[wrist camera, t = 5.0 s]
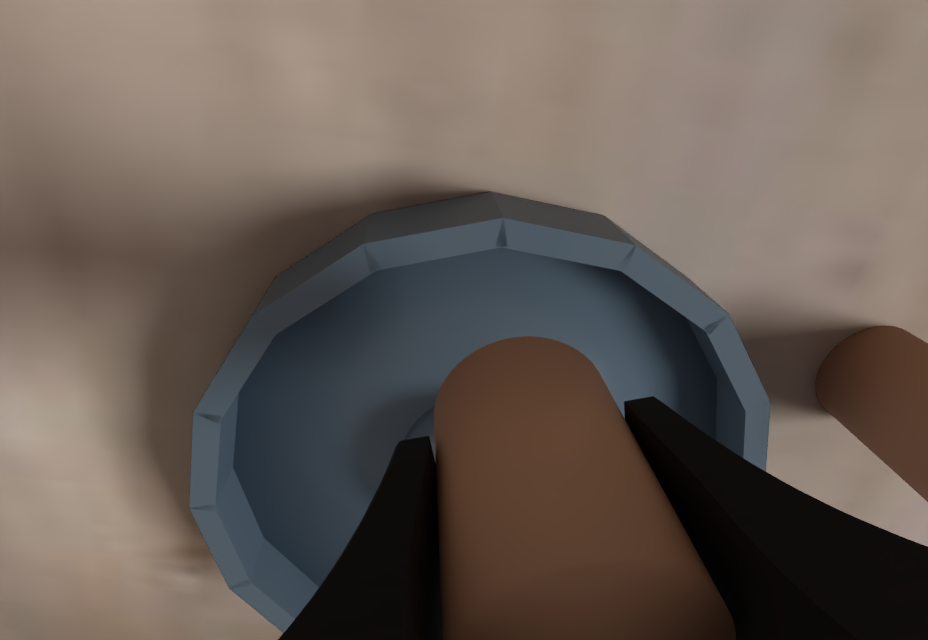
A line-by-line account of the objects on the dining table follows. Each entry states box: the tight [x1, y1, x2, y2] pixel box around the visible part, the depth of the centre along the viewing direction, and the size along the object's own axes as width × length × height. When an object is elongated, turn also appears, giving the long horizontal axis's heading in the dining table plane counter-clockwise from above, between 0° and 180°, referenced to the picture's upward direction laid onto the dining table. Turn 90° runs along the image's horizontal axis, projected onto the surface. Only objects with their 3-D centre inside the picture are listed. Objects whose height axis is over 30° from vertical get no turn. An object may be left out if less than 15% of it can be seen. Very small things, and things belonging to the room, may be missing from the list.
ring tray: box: [189, 192, 771, 633], centre depth 21 cm, size 19×19×3 cm
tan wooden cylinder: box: [434, 336, 736, 640], centre depth 11 cm, size 4×4×6 cm
